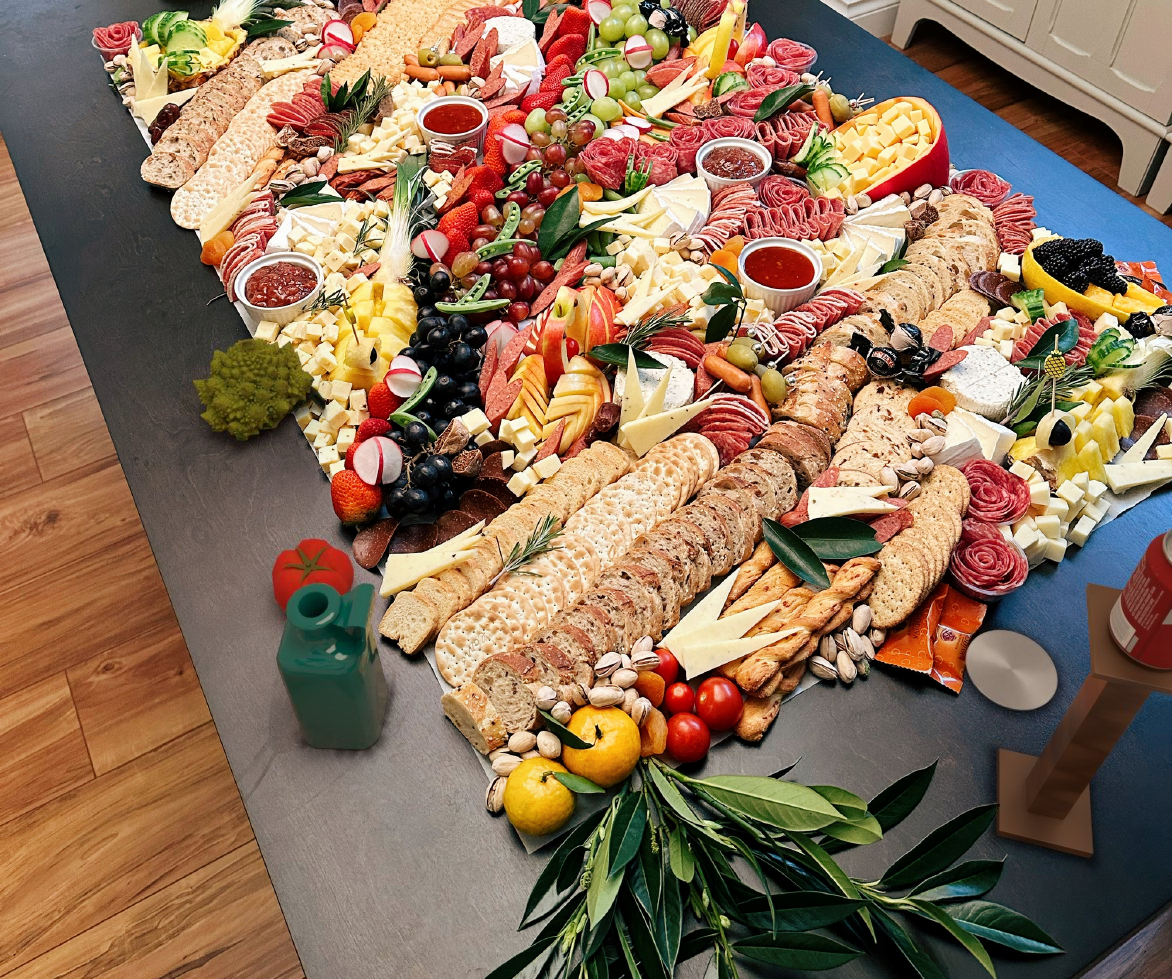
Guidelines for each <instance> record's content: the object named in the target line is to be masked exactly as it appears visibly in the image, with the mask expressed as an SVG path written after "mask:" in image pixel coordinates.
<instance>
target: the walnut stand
mask: <svg viewBox="0 0 1172 979" xmlns="http://www.w3.org/2000/svg"><path fill="white" fill-rule="evenodd" d="M1122 591H1123V589H1121V588H1116V587H1112V586H1106V585H1102V584H1098V583H1097V584H1096V583H1092V582H1088V583H1087V585H1086V586H1085V595H1086V598H1085V599H1086V611H1087V627H1088V641H1089V656H1090V671H1089V673H1088V675H1087V677H1086V678H1085V679H1084V681H1083V683H1082V684H1081V686H1080V688H1079V689H1078V691H1077V693H1076V695H1075V696H1074V698H1073V700H1072V701H1071V703H1070V705H1069V707H1068V708H1067V710H1066V712H1065V713H1064V715H1063V717H1062V718H1061V719H1060V722H1059V723H1058V724H1057V726H1056V728H1055V730H1054V731H1053V733H1052V734H1051V737H1050V738H1049V740H1048V741H1047V743H1046V745H1045V746H1044V748H1043V749H1042V752H1041V753H1040V754H1039V756H1035V755H1030V754H1026V753H1022V752H1019V751H1013V750H1009V749H1005V748H1001V747H999V749H998V750H997V752H996V804H997V803H998V804H1000V807H998V811H997V810H996V836H999V837H1001V838H1007V839H1010V840H1013V841H1014V840H1015V841H1017V842H1018V841H1019V842H1021V843H1026V844H1030V845H1035V846H1038V847H1043V848H1046V849H1050V850H1054V851H1058V852H1061V853H1062V852H1063V853H1065V854H1070V855H1074V856H1079V857H1082V858H1085V859H1086V858H1087V859H1091V858H1092V856H1093V855H1094V843H1093V842H1094V841H1093V827H1092V826H1093V825H1092V824H1093V823H1092V810H1091V809H1092V808H1091V807H1092V806H1091V791H1090V782H1091V781H1092V780H1093V779H1094V777H1095V775H1096V774H1097V772H1098V771H1099V769H1100V768H1101V766H1102V765H1103V764H1104V762H1105V761H1106V759H1107V758H1108V757H1109V755H1110V754H1111V752H1112V751H1113V750H1114V748H1115V747H1116V745H1117V743H1118V742H1119V741H1120V739H1121V737H1122V736H1123V735H1124V733H1125V732H1126V731H1127V729H1128V727H1129V726H1130V725H1131V723H1132V722H1133V720H1134V718H1135V717H1136V716H1137V714H1138V713H1139V711H1140V710H1141V708H1142V707H1143V705H1144V704H1145V702H1146V701H1147V700H1148V698H1149V697H1150V695H1151V694H1152V692H1155V693H1161V694H1165V695H1170V696H1172V669H1157V668H1152V667H1149V666H1146V665H1144V664H1141V663H1139V662H1137V661H1136V660H1134V659H1132V658H1131V657H1130V656H1128V655H1127V654H1126V653H1125V652H1124V651H1123V650H1122V649H1121V648H1120V647H1119V646H1118V645H1117V643H1116V642H1115V640H1114V639H1113V637H1112V635H1111V632H1110V629H1109V615H1110V612H1111V610H1112V608H1113V607H1114V605H1115V603H1116V601H1117V600H1118V598H1119V596H1120V595H1121V593H1122Z"/></svg>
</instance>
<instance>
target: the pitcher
mask: <svg viewBox="0 0 1172 979" xmlns="http://www.w3.org/2000/svg"><path fill="white" fill-rule="evenodd" d="M375 606H376V586H375V584H372V583H370V582H364V583H359V584H357V585H356V586H355V587H354V588H353V589H352V590H350V591H348V593H346V594H344V595H341V596H340V594H339V593H338V592H337V590H336V589H335V588H334V587H332V586H330V585H327V584H325V583H312V584H309V585H305V586H303V587H301V588H300V589H298V590H297V591H295V592H294V593H293V595H292V596H291V597H290V599H289V600H288V603H287V607H286V610H285V611H286V613H285V616H286V620H285V624H284V627H283V632H282V634H281V638H280V643H279V646H278V650H277V654H276V658H275V661H276V667H277V670H278V673H279V675H280V678H281V680H282V683H283V686H284V689H285V691H286V694H287V697H288V700H289V702H290V705H291V707H292V709H293V710H292V711H293V713H294V715H295V718H296V721H297V723H298V726H299V729H300V731H301V735H302V736H303V739H304V740H305V742H306V743H307V744H308V745H309V746H310V747H313V748H317V749H319V748H320V749H341V750H364V749H368V748H370V747H371V746H373V745H374V744H376V742H377V741H378V739H379V738H380V736H381V733H382V728H383V723H384V718H385V712H386V708H387V707H386V706H387V702H388V697H389V689H388V685H387V681H386V677H385V672H384V668H383V665H382V660H381V658H380V657H381V656H380V652H379V648H378V645H377V642H376V636H375V633H374V629H373V625H372V619H373V616H374V610H375Z"/></svg>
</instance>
